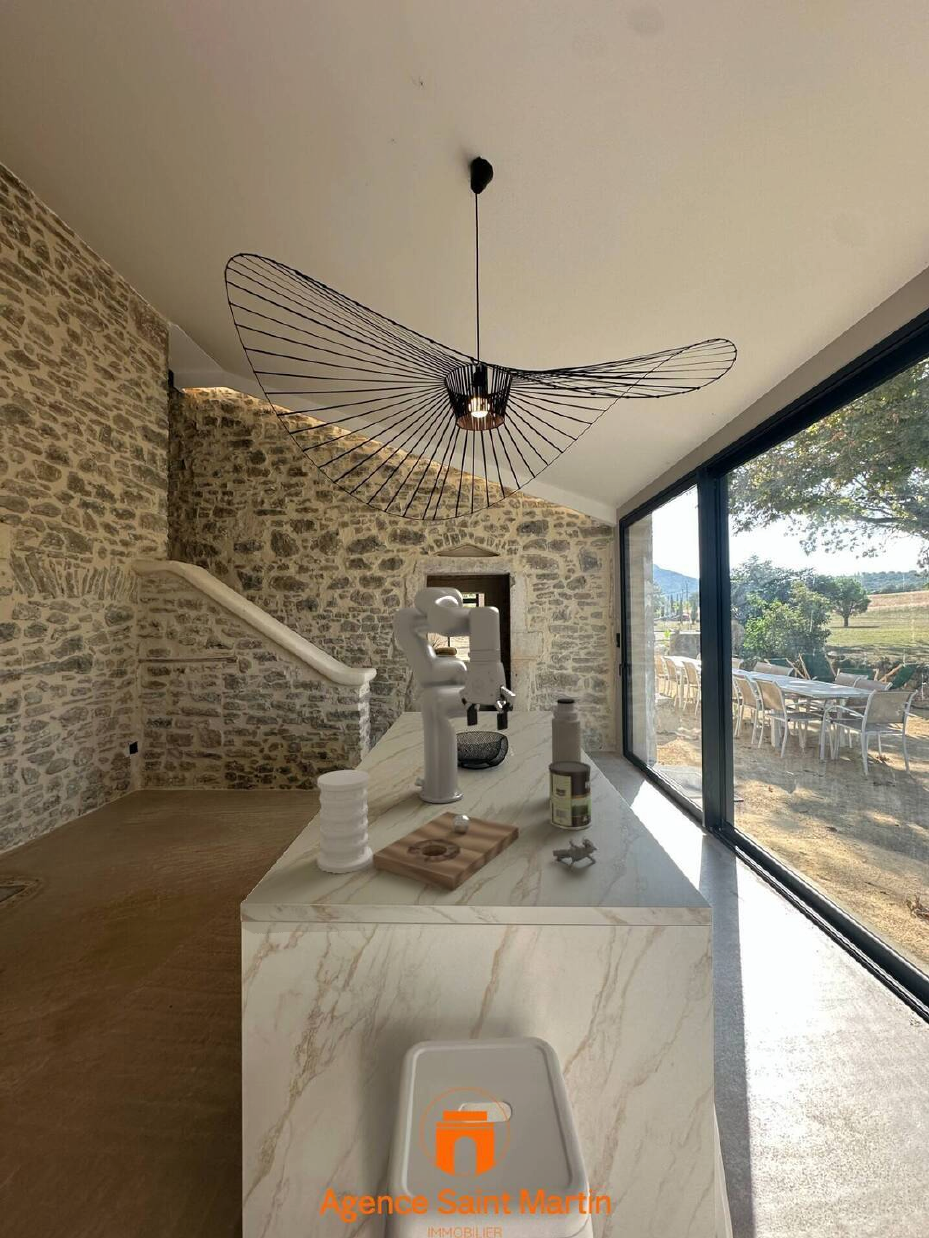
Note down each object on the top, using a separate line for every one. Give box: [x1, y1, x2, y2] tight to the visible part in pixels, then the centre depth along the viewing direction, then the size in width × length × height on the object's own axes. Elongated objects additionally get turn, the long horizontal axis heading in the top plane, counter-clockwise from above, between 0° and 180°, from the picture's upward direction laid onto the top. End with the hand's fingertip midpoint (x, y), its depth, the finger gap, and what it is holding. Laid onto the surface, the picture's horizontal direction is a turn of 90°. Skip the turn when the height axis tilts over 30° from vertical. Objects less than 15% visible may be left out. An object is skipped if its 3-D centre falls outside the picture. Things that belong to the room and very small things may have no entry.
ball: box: [453, 813, 470, 833], centre depth 124 cm, size 4×4×4 cm
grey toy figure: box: [552, 836, 598, 868], centre depth 113 cm, size 10×6×9 cm
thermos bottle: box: [551, 698, 582, 763], centre depth 153 cm, size 8×8×28 cm
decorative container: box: [316, 769, 373, 874], centre depth 116 cm, size 12×12×18 cm
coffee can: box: [548, 761, 592, 831], centre depth 135 cm, size 10×10×14 cm
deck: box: [372, 811, 519, 892], centre depth 120 cm, size 28×20×2 cm
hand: (487, 727), depth 132 cm, fingers open, 9 cm apart
